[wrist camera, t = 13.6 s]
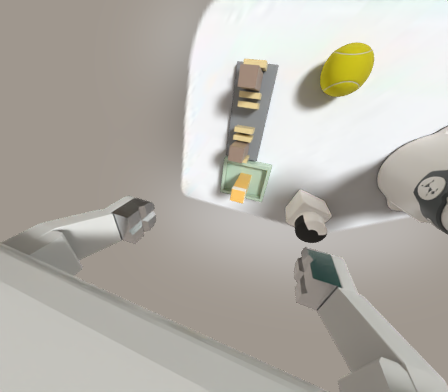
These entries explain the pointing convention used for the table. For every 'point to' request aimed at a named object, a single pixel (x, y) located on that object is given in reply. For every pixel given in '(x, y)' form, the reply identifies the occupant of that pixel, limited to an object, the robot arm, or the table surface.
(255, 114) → the holder
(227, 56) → the table surface
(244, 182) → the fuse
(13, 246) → the robot arm
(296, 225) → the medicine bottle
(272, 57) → the table surface
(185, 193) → the table surface
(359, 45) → the tennis ball
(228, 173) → the tray
